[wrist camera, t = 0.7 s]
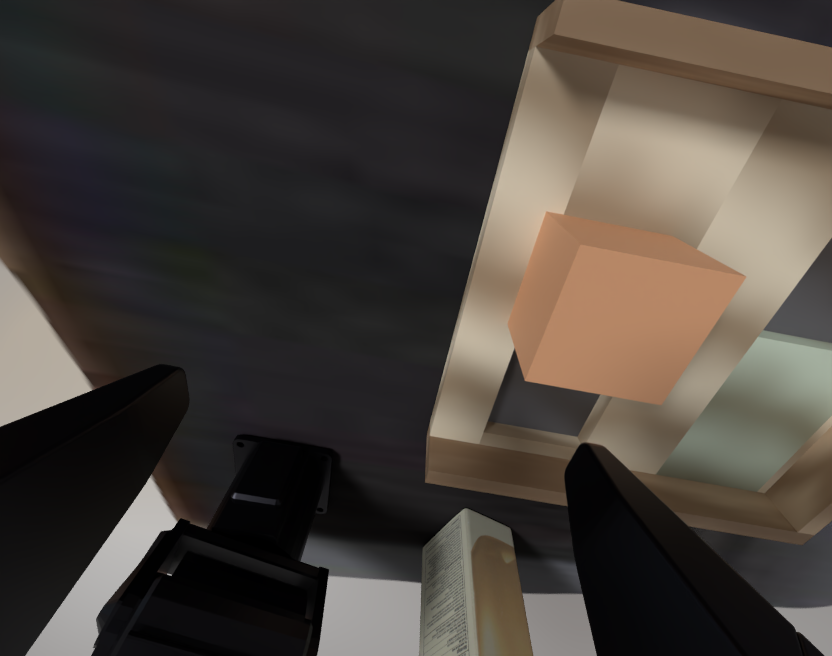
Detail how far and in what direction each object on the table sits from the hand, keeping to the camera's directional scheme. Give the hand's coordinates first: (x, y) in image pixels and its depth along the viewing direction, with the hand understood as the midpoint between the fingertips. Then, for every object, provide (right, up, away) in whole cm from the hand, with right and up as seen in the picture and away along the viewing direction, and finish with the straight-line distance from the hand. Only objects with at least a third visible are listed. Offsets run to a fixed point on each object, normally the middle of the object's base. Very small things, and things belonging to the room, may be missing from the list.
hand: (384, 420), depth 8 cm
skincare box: (+5, -14, +22) cm, 26 cm away
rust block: (+8, +4, +10) cm, 13 cm away
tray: (+14, +2, +12) cm, 18 cm away
